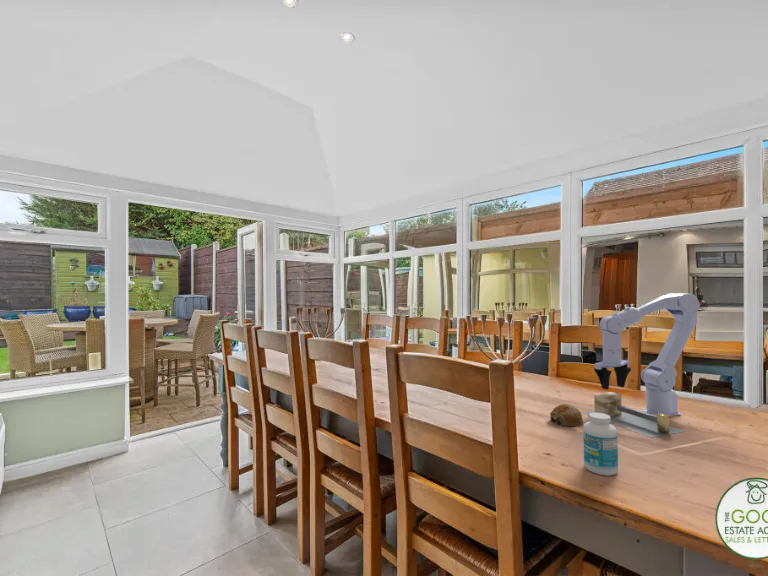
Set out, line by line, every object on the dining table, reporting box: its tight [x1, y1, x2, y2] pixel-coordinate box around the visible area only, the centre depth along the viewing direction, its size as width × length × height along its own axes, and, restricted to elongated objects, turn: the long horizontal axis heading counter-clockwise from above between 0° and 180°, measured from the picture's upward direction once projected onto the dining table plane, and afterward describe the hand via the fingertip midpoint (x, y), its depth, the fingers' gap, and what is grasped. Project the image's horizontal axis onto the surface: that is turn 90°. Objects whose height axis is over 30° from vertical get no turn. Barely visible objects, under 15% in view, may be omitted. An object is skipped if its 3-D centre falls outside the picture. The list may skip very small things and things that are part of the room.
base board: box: [580, 409, 686, 439], centre depth 127 cm, size 14×26×1 cm, turn 19°
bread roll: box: [549, 403, 584, 428], centre depth 129 cm, size 10×10×8 cm
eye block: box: [593, 391, 623, 416], centre depth 135 cm, size 8×4×7 cm, turn 109°
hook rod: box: [617, 405, 670, 433], centre depth 123 cm, size 3×16×5 cm, turn 18°
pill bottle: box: [582, 413, 619, 476], centre depth 95 cm, size 8×7×14 cm
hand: (613, 387), depth 137 cm, fingers open, 7 cm apart
